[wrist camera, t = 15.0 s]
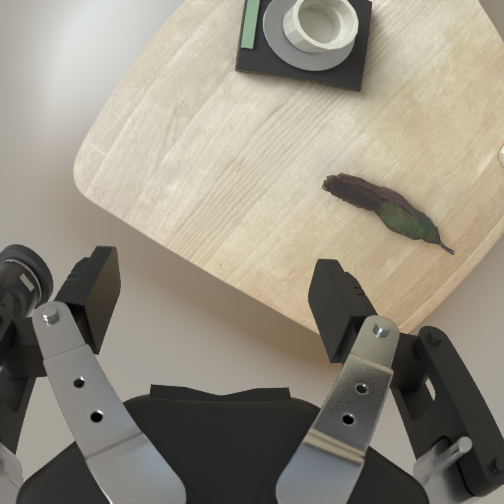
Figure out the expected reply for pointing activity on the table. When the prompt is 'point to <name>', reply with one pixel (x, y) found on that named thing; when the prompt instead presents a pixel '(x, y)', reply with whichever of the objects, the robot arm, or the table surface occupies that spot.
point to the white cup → (320, 25)
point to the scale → (266, 62)
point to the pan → (287, 50)
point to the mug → (501, 155)
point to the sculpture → (385, 207)
